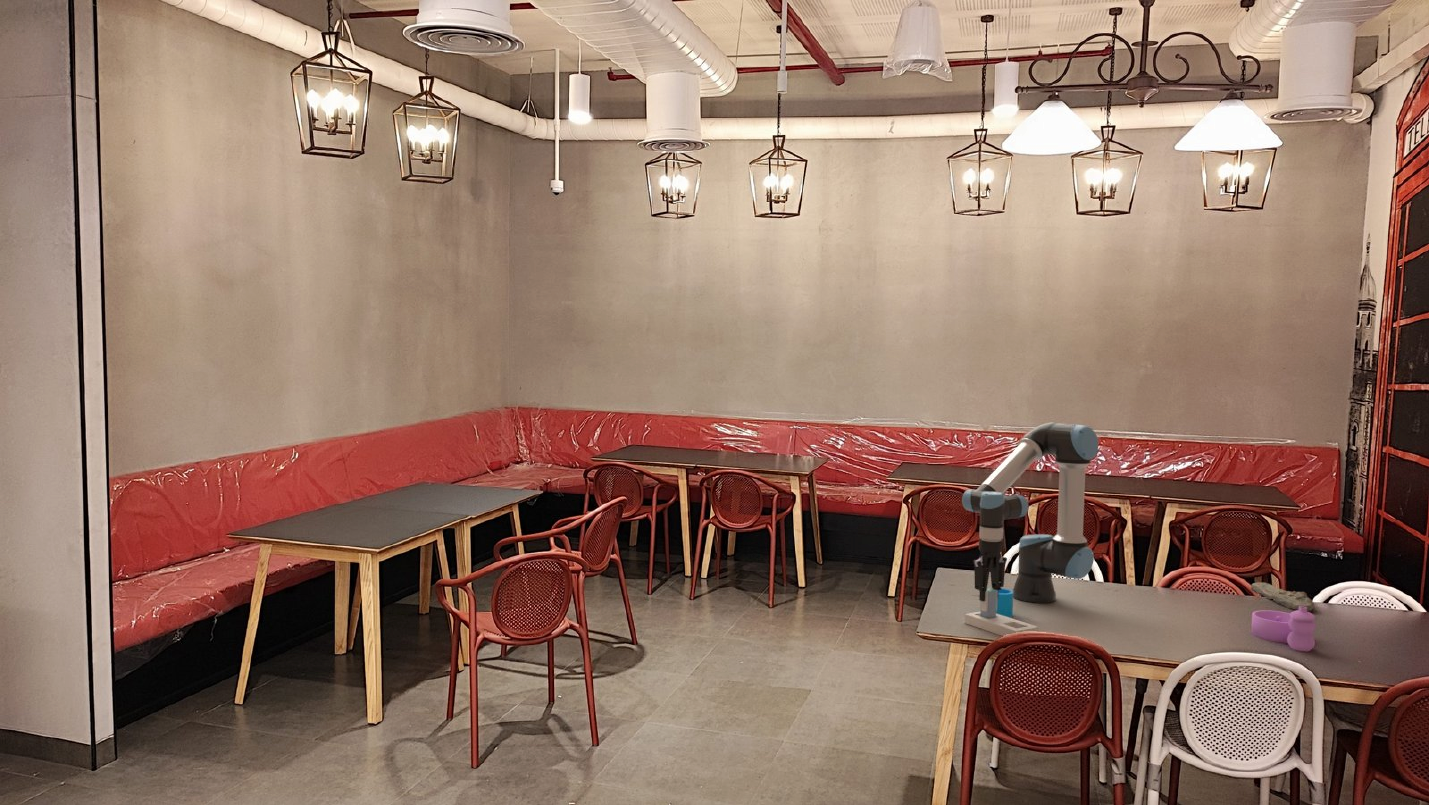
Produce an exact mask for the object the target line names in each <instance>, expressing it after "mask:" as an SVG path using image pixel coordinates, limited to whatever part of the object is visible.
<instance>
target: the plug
mask: <svg viewBox="0 0 1429 805" xmlns="http://www.w3.org/2000/svg"><path fill="white" fill-rule="evenodd" d="M987 592H988V611H987V612H985V611H982V610H980V611H981V615H980V616H981V617H984V618H987V619H991V618H996V604H997V590H995V589H993V588H992V587H987Z"/></svg>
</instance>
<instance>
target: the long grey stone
mask: <svg viewBox="0 0 1429 805" xmlns="http://www.w3.org/2000/svg"><path fill="white" fill-rule="evenodd" d="M1250 588H1251V590H1252V591H1254V592H1255V593H1257V594H1259V595H1260V596H1263V597H1264V598H1266V599H1267V600H1270V599H1275V600H1272V601H1273V602H1275V603H1277V604H1278V605H1281V606H1284V607H1285V608H1287V609H1292V610H1296V611H1297V610H1299V607H1300V606H1302V607H1307V612H1312V610H1313V608H1314V606H1315V604H1314V602H1313V600H1312V599H1311V598H1310V597H1308V595H1307V593H1306V592H1305V591H1295V590H1293V591H1289V590H1284V589H1282V588H1279V587H1276V586H1275V585H1272V584H1271V583H1267V582H1259V581H1258V582H1254V583H1252V584H1251V587H1250Z"/></svg>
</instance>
